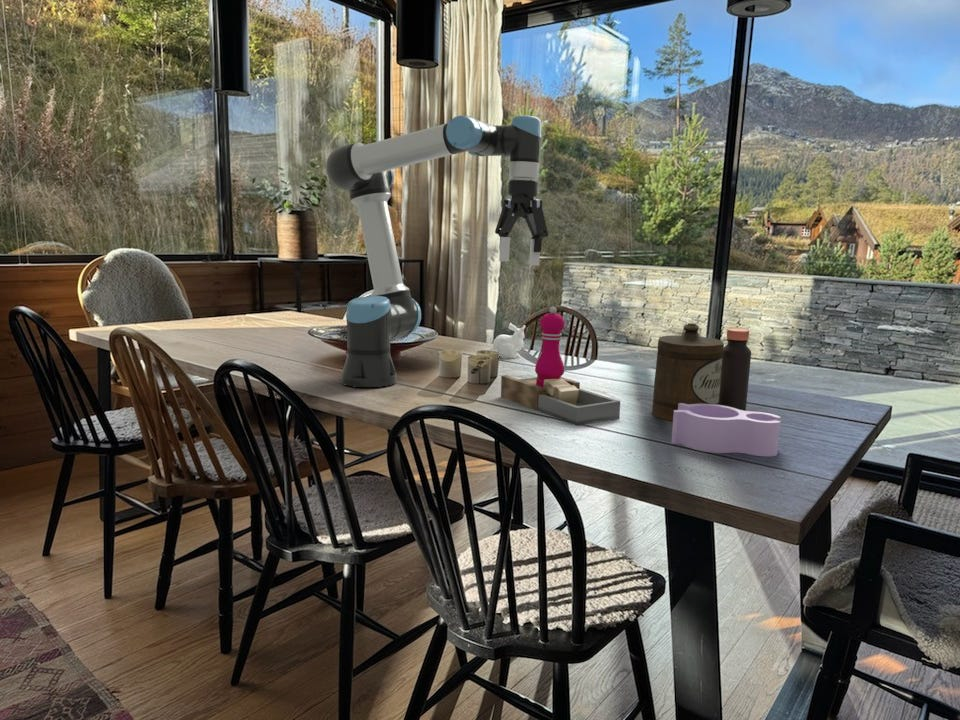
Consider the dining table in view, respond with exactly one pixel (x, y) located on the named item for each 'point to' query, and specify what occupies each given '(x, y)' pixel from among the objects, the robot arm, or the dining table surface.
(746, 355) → the bottle
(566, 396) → the chip
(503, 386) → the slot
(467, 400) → the dining table surface
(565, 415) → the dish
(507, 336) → the rabbit
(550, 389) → the chip
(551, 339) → the pepper mill
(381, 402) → the dining table surface
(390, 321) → the robot arm
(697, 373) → the wooden container
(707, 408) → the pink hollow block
